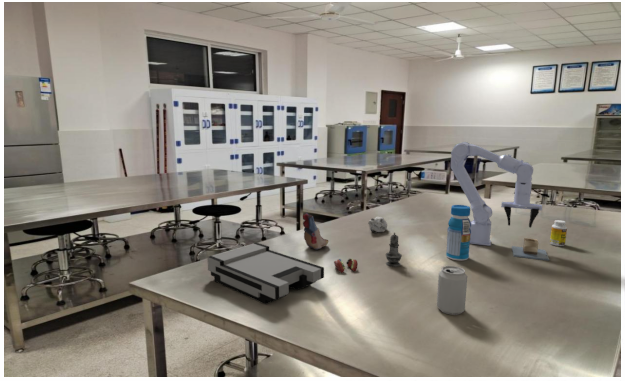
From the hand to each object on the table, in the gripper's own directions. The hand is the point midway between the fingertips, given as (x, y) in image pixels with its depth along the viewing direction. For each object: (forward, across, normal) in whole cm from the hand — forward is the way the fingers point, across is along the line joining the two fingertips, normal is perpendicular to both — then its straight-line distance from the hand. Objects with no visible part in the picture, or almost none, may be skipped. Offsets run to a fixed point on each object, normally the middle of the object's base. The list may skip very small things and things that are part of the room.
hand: (519, 225), depth 164 cm
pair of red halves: (+10, -57, -51) cm, 77 cm away
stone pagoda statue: (+10, -43, -39) cm, 59 cm away
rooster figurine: (+10, -76, -33) cm, 83 cm away
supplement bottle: (+10, +16, +12) cm, 22 cm away
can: (+10, -21, -68) cm, 72 cm away
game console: (+10, -77, -73) cm, 107 cm away
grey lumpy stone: (+10, -59, +1) cm, 60 cm away
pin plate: (+9, +4, -6) cm, 12 cm away
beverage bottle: (+10, -22, -22) cm, 33 cm away
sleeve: (+9, +4, -6) cm, 11 cm away
